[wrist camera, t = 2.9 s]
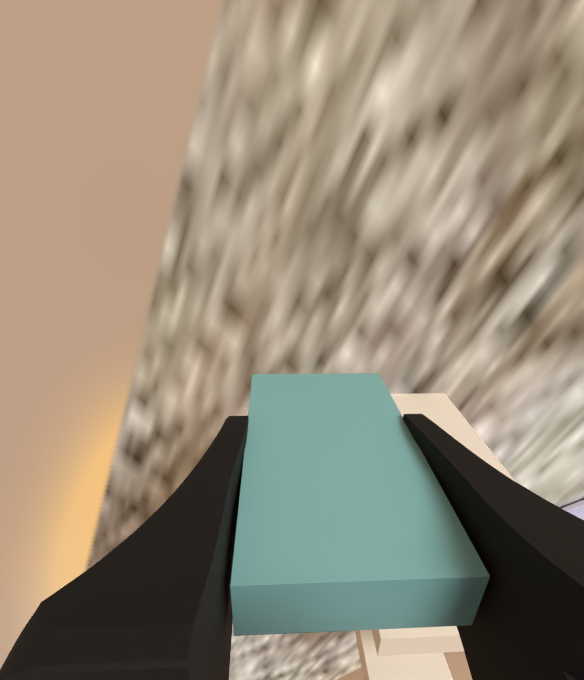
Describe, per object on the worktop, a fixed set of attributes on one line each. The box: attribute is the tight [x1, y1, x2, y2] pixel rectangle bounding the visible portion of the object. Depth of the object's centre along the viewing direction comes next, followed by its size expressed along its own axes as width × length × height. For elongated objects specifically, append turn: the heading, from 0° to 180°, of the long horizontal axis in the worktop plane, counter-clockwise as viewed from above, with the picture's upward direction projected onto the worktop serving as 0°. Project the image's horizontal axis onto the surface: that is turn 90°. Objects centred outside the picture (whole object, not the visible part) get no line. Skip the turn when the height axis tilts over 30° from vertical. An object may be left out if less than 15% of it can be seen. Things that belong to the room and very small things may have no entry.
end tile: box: [230, 374, 490, 636], centre depth 11 cm, size 2×5×8 cm, turn 89°
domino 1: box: [355, 630, 453, 680], centre depth 25 cm, size 2×5×8 cm, turn 89°
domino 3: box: [372, 626, 464, 656], centre depth 23 cm, size 2×5×8 cm, turn 89°
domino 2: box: [391, 393, 516, 482], centre depth 19 cm, size 2×5×8 cm, turn 89°
